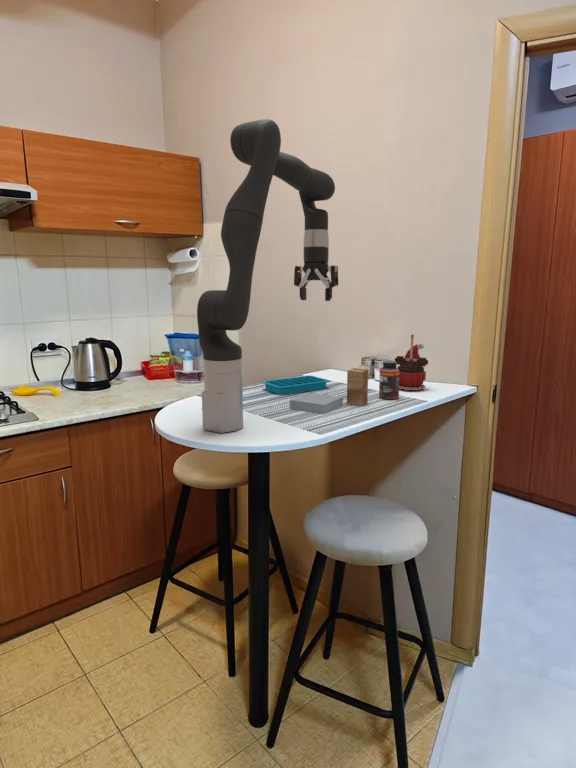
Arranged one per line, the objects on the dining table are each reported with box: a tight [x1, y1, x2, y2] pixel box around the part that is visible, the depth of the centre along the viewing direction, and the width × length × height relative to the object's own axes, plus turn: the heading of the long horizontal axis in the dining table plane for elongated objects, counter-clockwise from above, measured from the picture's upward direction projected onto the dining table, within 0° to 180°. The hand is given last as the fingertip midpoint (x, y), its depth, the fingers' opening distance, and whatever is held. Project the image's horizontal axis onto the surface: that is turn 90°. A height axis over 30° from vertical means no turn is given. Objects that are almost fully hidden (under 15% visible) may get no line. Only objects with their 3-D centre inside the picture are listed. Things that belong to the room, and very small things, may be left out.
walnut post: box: [346, 367, 369, 407], centre depth 150 cm, size 4×4×10 cm
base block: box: [289, 392, 344, 415], centre depth 147 cm, size 11×11×3 cm
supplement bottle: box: [378, 360, 400, 400], centre depth 157 cm, size 6×6×11 cm
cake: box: [394, 334, 429, 391], centre depth 169 cm, size 11×9×18 cm
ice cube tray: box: [262, 375, 330, 396], centre depth 171 cm, size 12×20×3 cm, turn 123°
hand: (315, 300), depth 158 cm, fingers open, 8 cm apart
